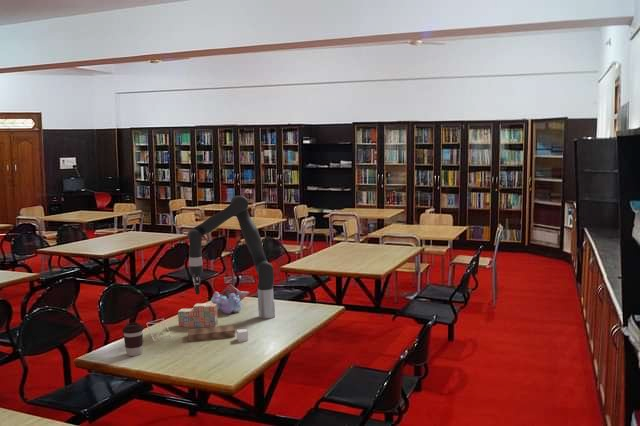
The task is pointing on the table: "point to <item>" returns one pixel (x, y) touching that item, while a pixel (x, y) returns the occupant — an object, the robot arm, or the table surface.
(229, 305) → the lumpy periwinkle toy figure
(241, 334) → the pale grey cube
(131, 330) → the coffee cup
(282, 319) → the table surface
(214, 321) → the stack of blocks
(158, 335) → the geometric polyhedron
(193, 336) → the walnut plinth
